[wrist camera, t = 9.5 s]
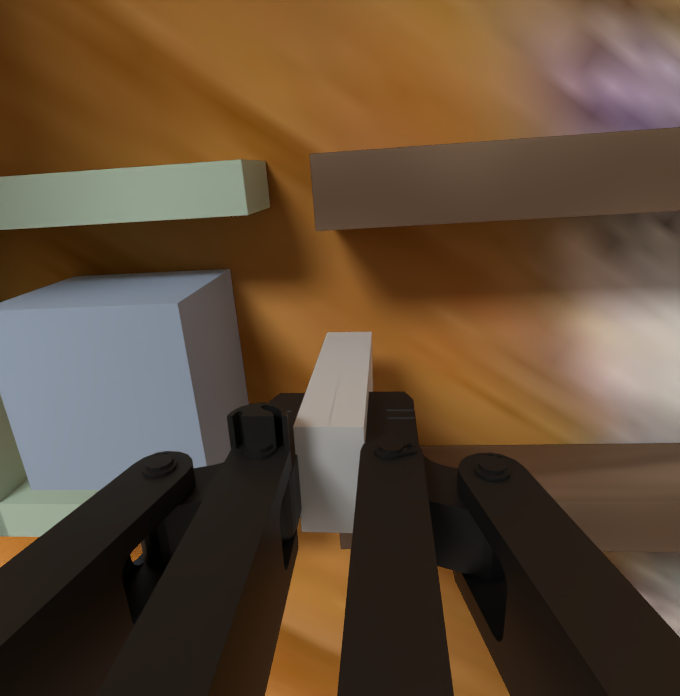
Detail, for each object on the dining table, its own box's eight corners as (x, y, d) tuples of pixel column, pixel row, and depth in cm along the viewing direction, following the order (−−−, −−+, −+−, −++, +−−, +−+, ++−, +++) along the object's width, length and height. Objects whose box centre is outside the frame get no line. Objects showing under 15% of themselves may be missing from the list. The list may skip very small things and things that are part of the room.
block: (76, 275, 19) (-27, 311, 14) (231, 268, 18) (177, 302, 13) (111, 417, 21) (31, 490, 16) (251, 414, 20) (211, 489, 15)
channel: (324, 156, 16) (309, 153, 13) (932, 113, 14) (1092, 97, 11) (347, 488, 21) (340, 548, 17) (816, 487, 19) (907, 554, 16)
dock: (-75, 185, 18) (-161, 188, 15) (265, 161, 17) (240, 159, 14) (25, 489, 22) (-27, 535, 19) (300, 488, 21) (287, 538, 18)
